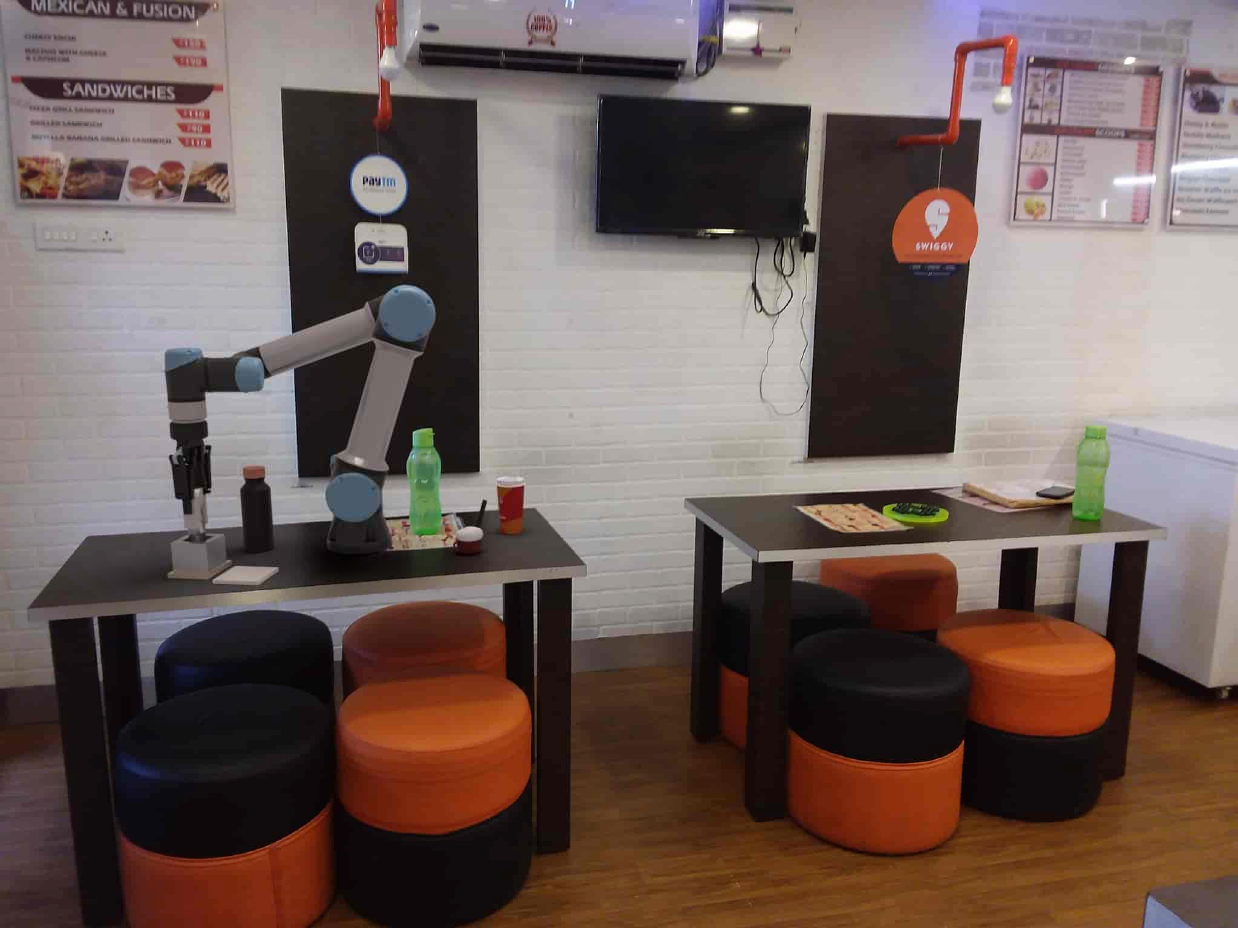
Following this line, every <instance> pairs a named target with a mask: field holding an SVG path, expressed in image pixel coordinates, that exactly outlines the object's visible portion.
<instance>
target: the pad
mask: <svg viewBox="0 0 1238 928" xmlns="http://www.w3.org/2000/svg"><path fill="white" fill-rule="evenodd" d="M278 572H279V567H277V566H276V567H274V566H246V565H235V566H232V567H231V568H230V569H228V570H227V571H225V572H223V573H221V574H220V575H218V576H216V577H215V578H214V579H212V584H214V585H215V584H217V585H218V584H219V585H237V586H238V585H240V586H241V585H244V586H259V585H261V584H262V583H263V582H265V581H266V580H267V579H269V578H271V577H272V576H273V575H275V574H277V573H278Z"/></svg>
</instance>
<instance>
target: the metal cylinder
mask: <svg viewBox="0 0 1238 928" xmlns="http://www.w3.org/2000/svg"><path fill="white" fill-rule="evenodd" d="M193 499H196V505H197V518H198V528H197V529H189V528H187V535H188V539H189V542H204V541H206V540H207V539H206V534H207V530H206V529H207V528H206V524H205V513H204V500H203V487H201V486H194V493H193Z"/></svg>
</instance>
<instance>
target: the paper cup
mask: <svg viewBox="0 0 1238 928" xmlns="http://www.w3.org/2000/svg"><path fill="white" fill-rule="evenodd" d="M526 484H527V483H526V482H525V479H524V478H523V477H521V476H517V477H516V476H502V477H501V476H500V477H497V480H496V482H495V486H496V493H497V494H496V496H497V506H498V507H497V508H498V521H499V530H500V533H501V534H503V535H508V536H509V535H510V536H511V535H518V534H521V533H522V531H523V525H524V519H523V518H524V500H525V485H526Z"/></svg>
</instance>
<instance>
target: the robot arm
mask: <svg viewBox="0 0 1238 928" xmlns="http://www.w3.org/2000/svg"><path fill="white" fill-rule="evenodd" d="M435 322H436V308H435V304H434V301H433V300H432V298H431V297H430V296H429V294H428V292H427V293H426V292H425V291H424V290H423V289H421V288H420V287H417V286H414V285H409V284H402V285H398V286H395V287H393V288H391V289H390V290H389V291H388V292H386V293H385V294H383V295H381V296H379V297H377V298H374V299H372V300H369V301H366V303H365V304H364V306H363V308H360V309H357V310H355V311H352V312H350V313H346V314H343V315H340V316H338V317H335V318H333V319H329V320H326V321H324V322H321V323H318V324H316V325H313V326H311V327H308V328H305V329H302V330H299V331H296V332H293V333H291V334H288V335H285V336H282V337H280V338H276V339H274V340H271V341H269V342H266V343H262V344H260V345H258V346H254V347H251V348H249V349H246V350H241V351H239V352H235V353H234V354H232V355H231V356H229V357H227V356H225V357H206V356H205V355H203V354H204V353H203V350H202V349H201V348H198V347H174V348H168V349H167V350H165V352H164V371H163V372H164V376H165V385H166V387H165V388H166V396H167V397H166V398H167V399H166V400H167V410H168V419H169V420H171V421H170V423H169V424H168V425H169V437H170V439H171V440H173V441H176V447H175V453H174V454H169V455H168V460H169V463H170V465H171V466H170V467H171V474H172V481H173V493H174V498H175V499H176V500H181V501H182V515H183V527H184V529H188V528H189V529H197V528H198V518H197V505H196V499H193V493H194V486H201V487H203V500H204V513H205V525H206V524H209V516H208V503H207V495H209V494H211V493H212V490H211V489H212V487H213V486H212V484H213V483H212V468H211V467H212V465H211V463H212V462H211V453H212V445H211V444H205V441H204V439H206V438H208V437H209V425H208V421H207V420H206V418H208V410H207V401H206V393H244V394H248V393H252V392H254V393H257V392H261V391H263V389H264V385H265V380H267V379H270V378H272V377H274V376H277V375H280V374H283V373H286V372H288V371H292V370H294V369H297V368H299V367H303V366H306V365H307V364H311V363H314V362H317V361H319V360H322V359H324V358H327V357H330V356H332V355H335V354H338V353H342V352H345V351H346V350H350V349H352V348H355V347H357V346H360V345H363V344H366V343H369V342H371V341H373V344H374V345H375V350H374V354H373V358H372V361H371V363H370V364H371V365H370V368H369V372H368V375H367V378H366V381H365V384H364V389H363V390H362V391H363V392H362V395H361V399H360V403H359V404H358V405H359V406H358V407H357V408H358V409H357V412H356V416H355V418H354V423H353V425H352V429H351V432H350V436H349V440H348V442H347V446H346V448H345V449H344V450H342V451H340V452H339V453H337V454H333V455H332V456H331V457H330V464H329V468H330V479H329V483H328V484H327V487H326V490H325V502H326V504H327V508H328V509H329V511H330V512H331V514H333V516H332V521H331V524H330V528H329V531H328V535H327V538H326V539H327V540H326V541H327V542H326V545H327V546H326V547H327V550H328V551H330V552H333V553H335V554H343V555H364V554H371V553H377V552H381V551H384V550H386V549H388V548H390V547H391V546H392V543H393V542H392V534H391V531H390V528H389V526H388V523H387V520H386V517H385V515H384V507H383V506H384V505H383V503H384V502H383V489H384V486H385V482H386V479H387V475H388V472H389V470H390V467H389V465H388V464H387V462H386V460H385V459H386V455H387V452H388V450H389V445H390V441H391V439H392V435H393V432H394V429H395V425H396V421H397V418H398V416H399V415H398V414H399V412H400V408H401V405H402V401H403V398H404V395H405V392H406V388H407V385H408V382H409V378H410V374H411V372H412V368H413V365H414V361H415V359H416V358H417V357H420V356H421V355H423V354H424V352H425V348H426V345H427V342H428V340H429V336H430V332H431V330H432V329H433V327H434V324H435Z"/></svg>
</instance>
